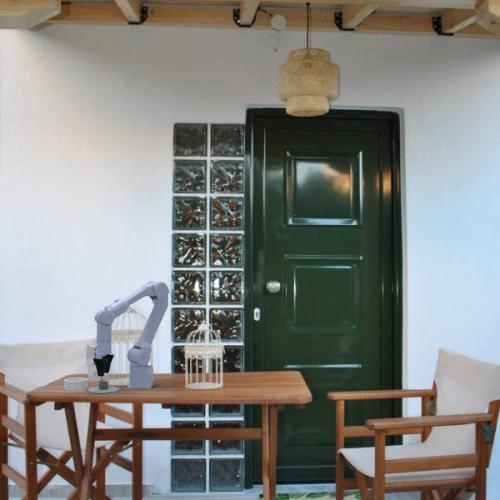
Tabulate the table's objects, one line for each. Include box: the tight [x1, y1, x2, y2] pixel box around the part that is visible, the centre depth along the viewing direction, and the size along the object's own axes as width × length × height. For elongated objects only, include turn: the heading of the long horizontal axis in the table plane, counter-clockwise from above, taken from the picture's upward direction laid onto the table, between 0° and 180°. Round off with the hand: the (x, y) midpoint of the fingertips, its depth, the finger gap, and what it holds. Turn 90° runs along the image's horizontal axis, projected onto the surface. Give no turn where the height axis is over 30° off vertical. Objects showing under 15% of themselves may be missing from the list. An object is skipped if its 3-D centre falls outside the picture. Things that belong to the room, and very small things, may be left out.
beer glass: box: [85, 344, 102, 382], centre depth 278 cm, size 7×7×15 cm
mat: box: [82, 386, 124, 395], centre depth 256 cm, size 13×13×1 cm
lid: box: [87, 380, 120, 393], centre depth 256 cm, size 12×12×3 cm
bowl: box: [63, 377, 89, 392], centre depth 259 cm, size 9×9×4 cm
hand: (103, 374), depth 256 cm, fingers open, 7 cm apart
